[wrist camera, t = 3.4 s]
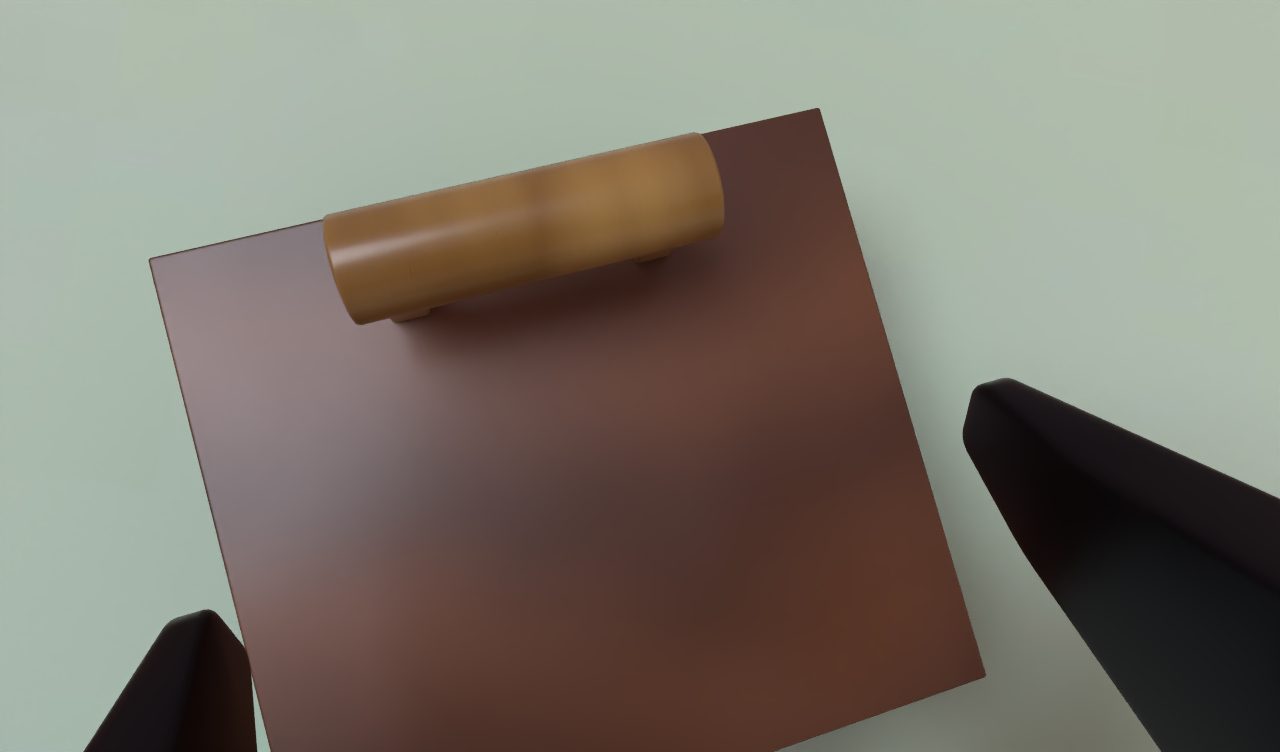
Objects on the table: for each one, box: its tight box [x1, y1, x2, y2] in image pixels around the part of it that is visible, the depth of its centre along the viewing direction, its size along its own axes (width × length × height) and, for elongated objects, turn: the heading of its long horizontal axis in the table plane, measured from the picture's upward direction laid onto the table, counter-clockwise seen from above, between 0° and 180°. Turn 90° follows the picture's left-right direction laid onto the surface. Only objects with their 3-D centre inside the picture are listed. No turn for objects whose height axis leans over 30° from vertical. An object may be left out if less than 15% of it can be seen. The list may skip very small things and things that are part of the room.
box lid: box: [149, 108, 986, 752], centre depth 13 cm, size 11×13×4 cm
